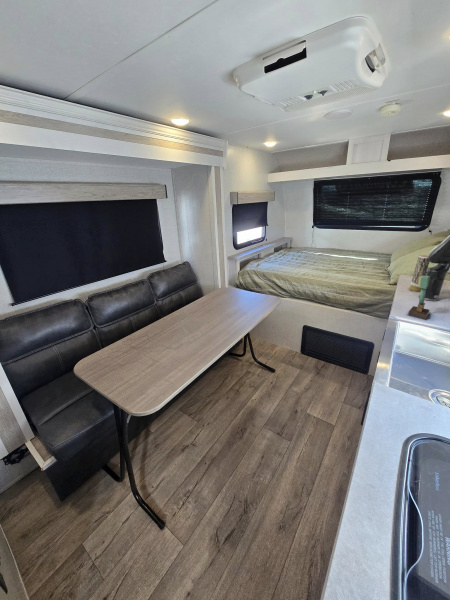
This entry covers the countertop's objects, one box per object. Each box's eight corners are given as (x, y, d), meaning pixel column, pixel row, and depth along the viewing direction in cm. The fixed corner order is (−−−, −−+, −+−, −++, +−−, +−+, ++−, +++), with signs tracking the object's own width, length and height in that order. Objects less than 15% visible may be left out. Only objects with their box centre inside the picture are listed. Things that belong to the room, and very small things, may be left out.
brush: (416, 305, 142) (420, 275, 136) (424, 307, 139) (429, 275, 133) (414, 308, 139) (418, 277, 133) (422, 309, 136) (427, 278, 130)
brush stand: (411, 310, 146) (415, 299, 143) (428, 314, 140) (432, 303, 138) (407, 315, 140) (411, 304, 138) (425, 319, 135) (428, 308, 132)
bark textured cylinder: (416, 288, 178) (426, 255, 168) (423, 291, 172) (433, 257, 162) (407, 288, 179) (416, 255, 169) (412, 291, 173) (422, 257, 163)
